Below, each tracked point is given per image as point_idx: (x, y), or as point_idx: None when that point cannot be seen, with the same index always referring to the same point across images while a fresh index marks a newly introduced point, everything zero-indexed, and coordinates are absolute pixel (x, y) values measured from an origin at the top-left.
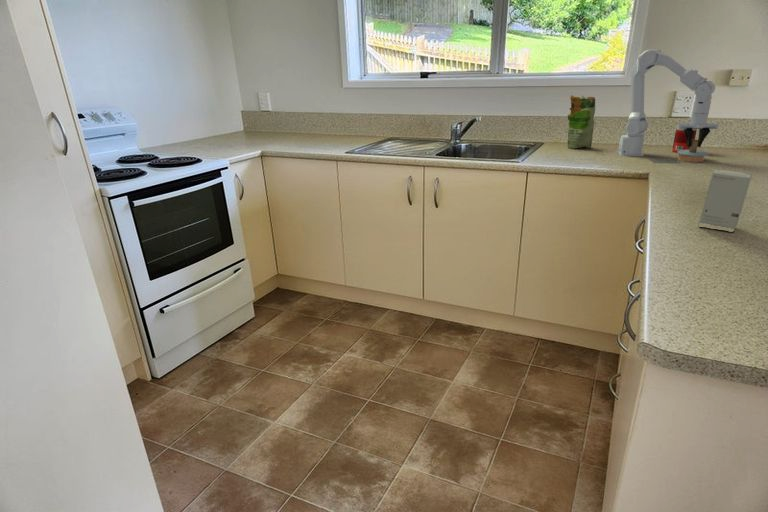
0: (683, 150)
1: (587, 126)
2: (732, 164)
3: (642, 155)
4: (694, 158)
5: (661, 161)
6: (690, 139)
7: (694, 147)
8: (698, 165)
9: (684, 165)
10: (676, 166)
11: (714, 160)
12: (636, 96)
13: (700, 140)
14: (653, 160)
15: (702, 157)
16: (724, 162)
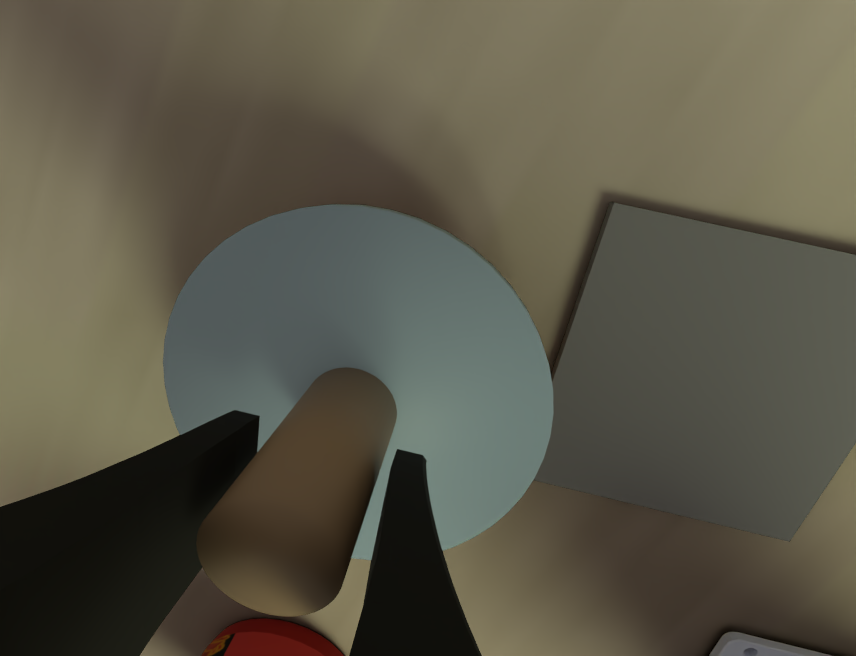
0: None
1: None
2: (10, 71)
3: (750, 641)
4: None
5: (786, 339)
6: (404, 557)
7: (335, 410)
8: (433, 66)
9: (617, 94)
10: (781, 34)
11: (134, 327)
12: None
13: (172, 494)
14: (837, 411)
15: None
16: (67, 206)
